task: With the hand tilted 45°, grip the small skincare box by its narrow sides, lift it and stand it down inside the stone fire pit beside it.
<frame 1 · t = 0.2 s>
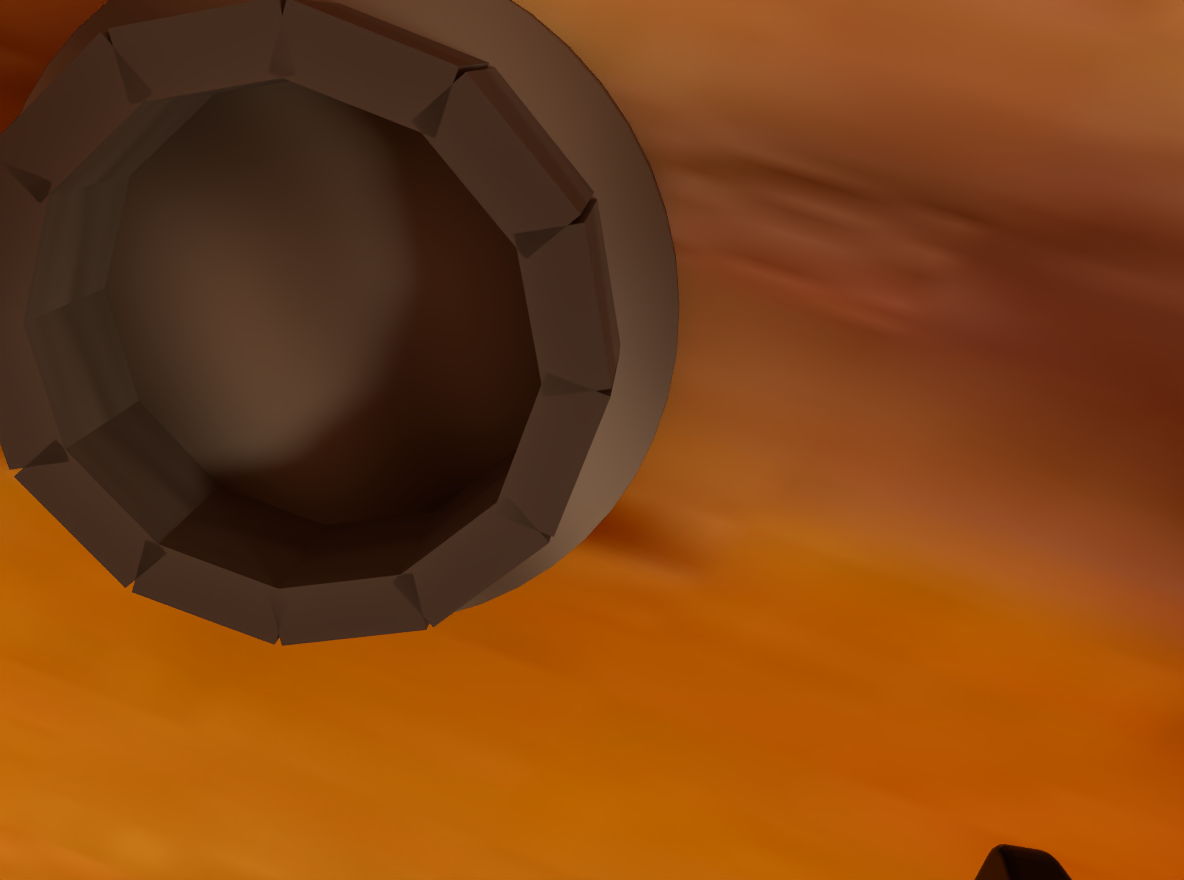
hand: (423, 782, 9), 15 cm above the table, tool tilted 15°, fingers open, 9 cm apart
stone fire pit: (341, 306, 23), on the table
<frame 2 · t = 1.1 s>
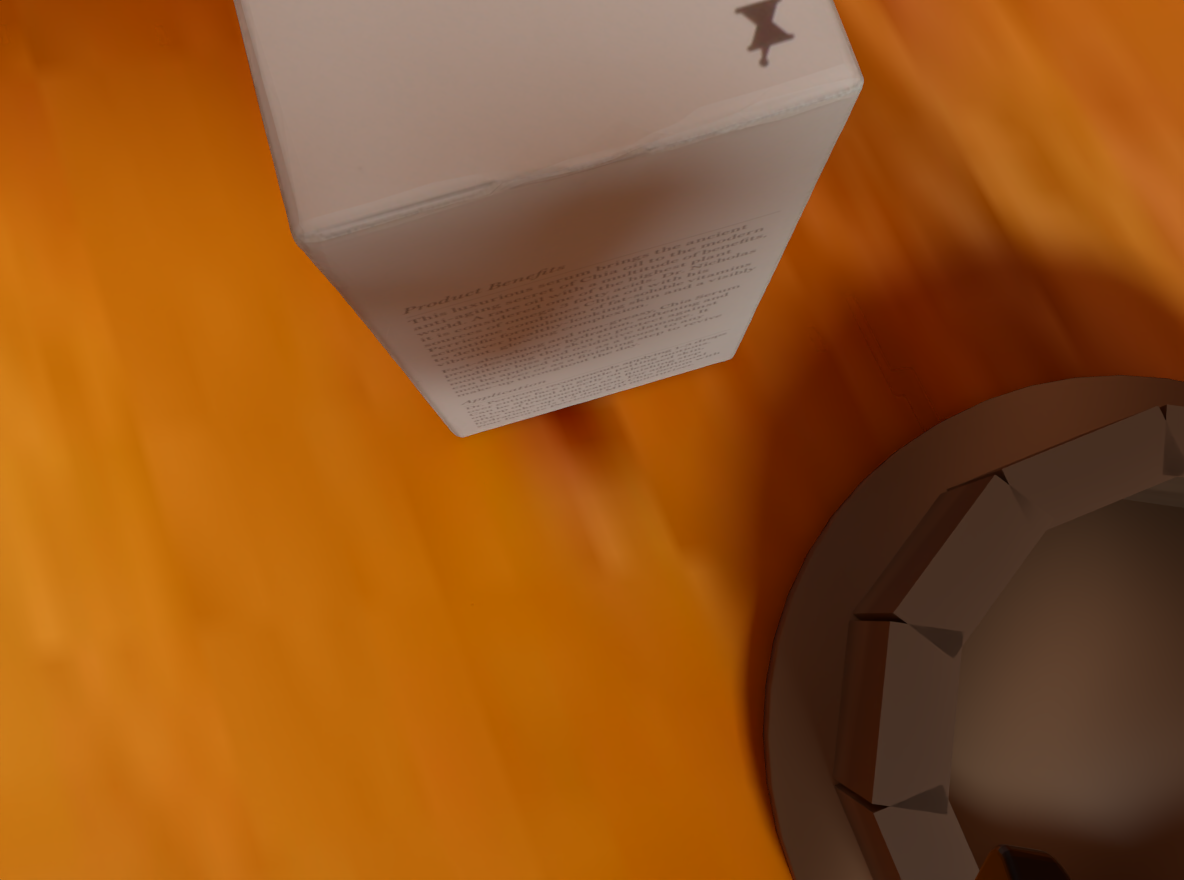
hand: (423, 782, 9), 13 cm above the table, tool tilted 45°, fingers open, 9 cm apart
skincare box: (564, 309, 23), on the table
stone fire pit: (1124, 738, 22), on the table
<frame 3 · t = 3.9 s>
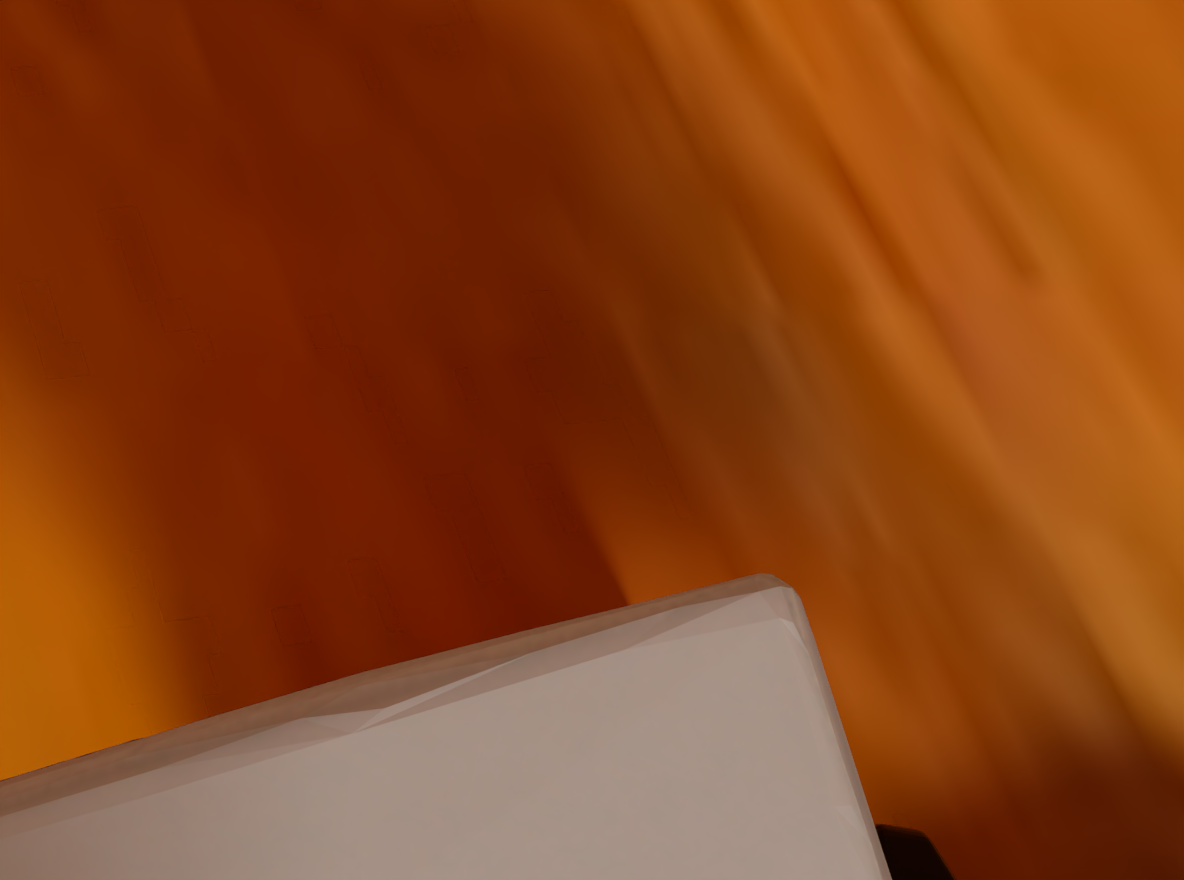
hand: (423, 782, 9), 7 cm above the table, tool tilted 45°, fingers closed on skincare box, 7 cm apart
skincare box: (468, 826, 15), on the table, touching gripper
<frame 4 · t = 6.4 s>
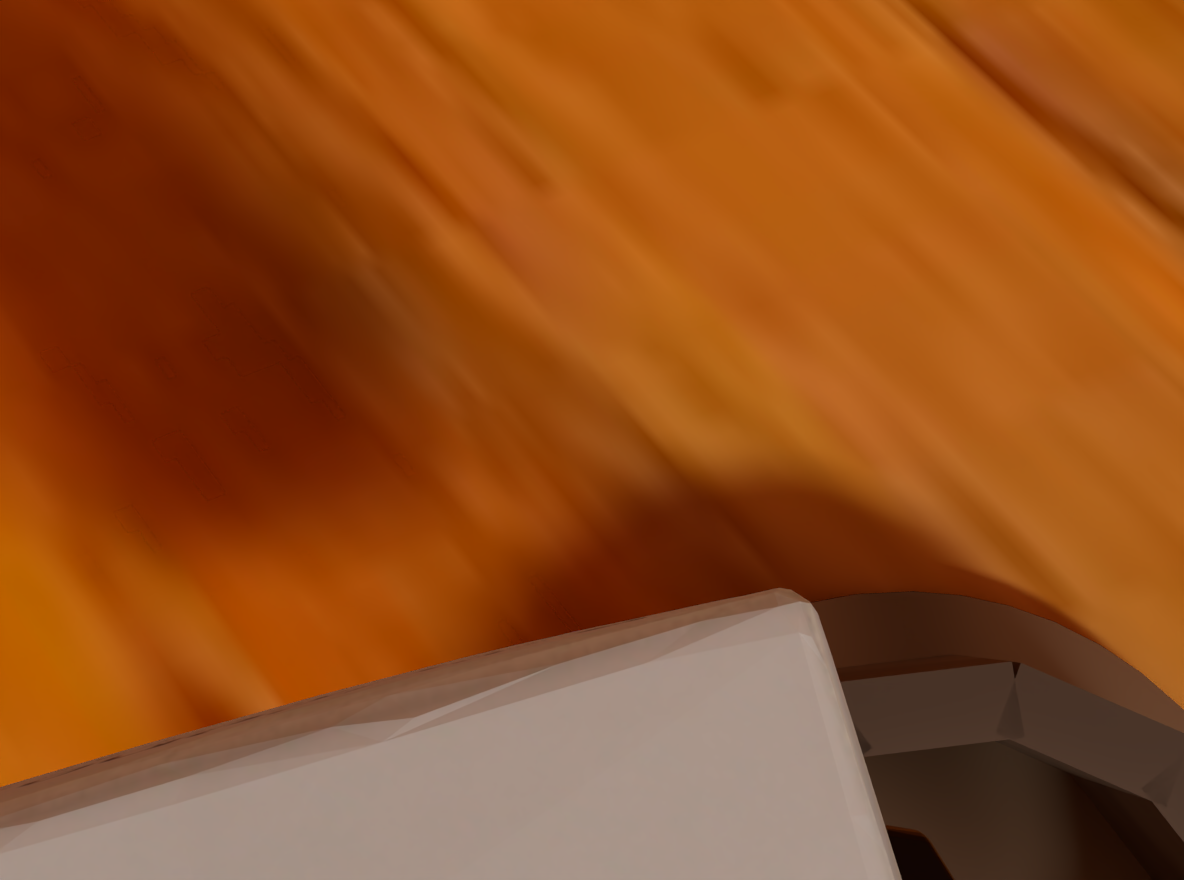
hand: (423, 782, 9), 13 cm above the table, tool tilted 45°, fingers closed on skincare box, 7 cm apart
skincare box: (456, 820, 16), point 6 cm above the table, touching gripper
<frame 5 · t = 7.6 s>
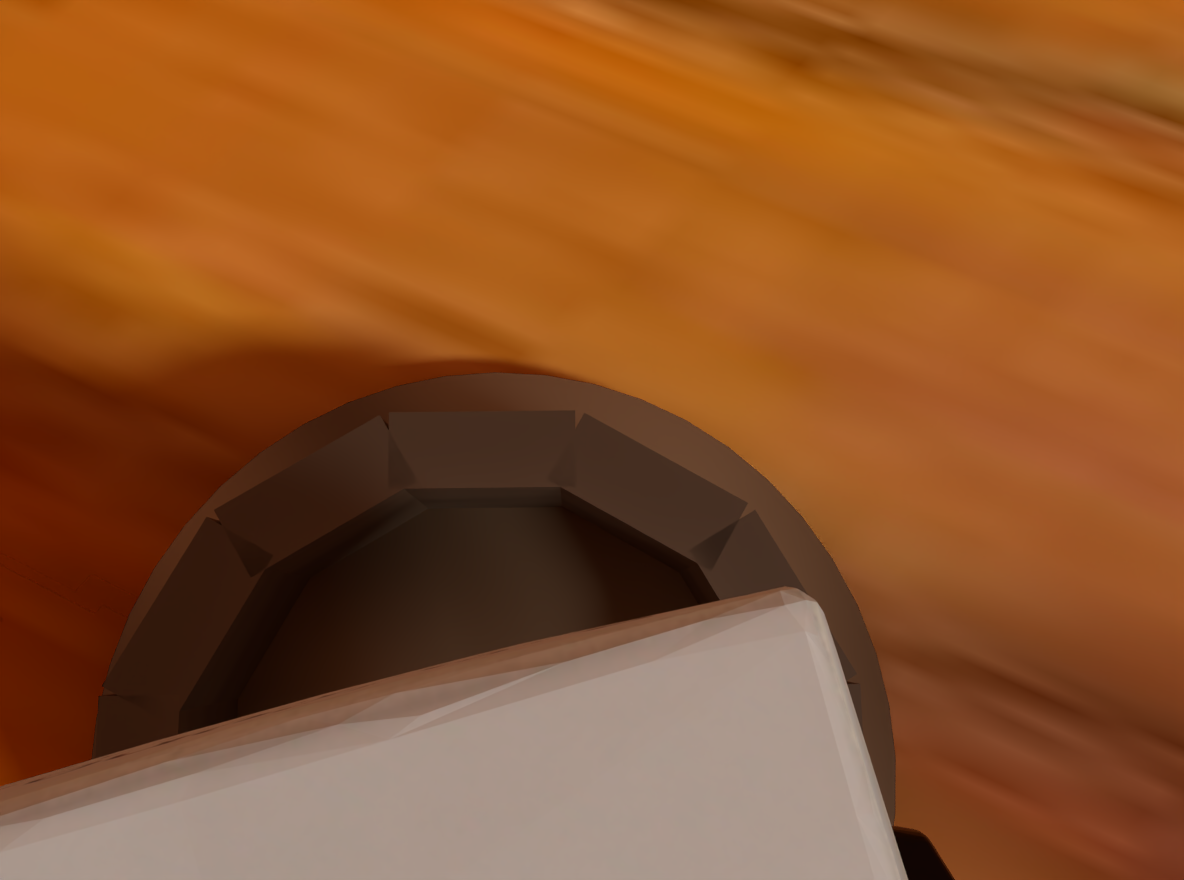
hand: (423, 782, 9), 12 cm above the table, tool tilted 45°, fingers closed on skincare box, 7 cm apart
skincare box: (459, 820, 16), point 5 cm above the table, touching gripper
stone fire pit: (498, 759, 20), on the table
when the fingers open (9 cm above the table, at t = 8.8 s): skincare box drops 1 cm, resting on stone fire pit.
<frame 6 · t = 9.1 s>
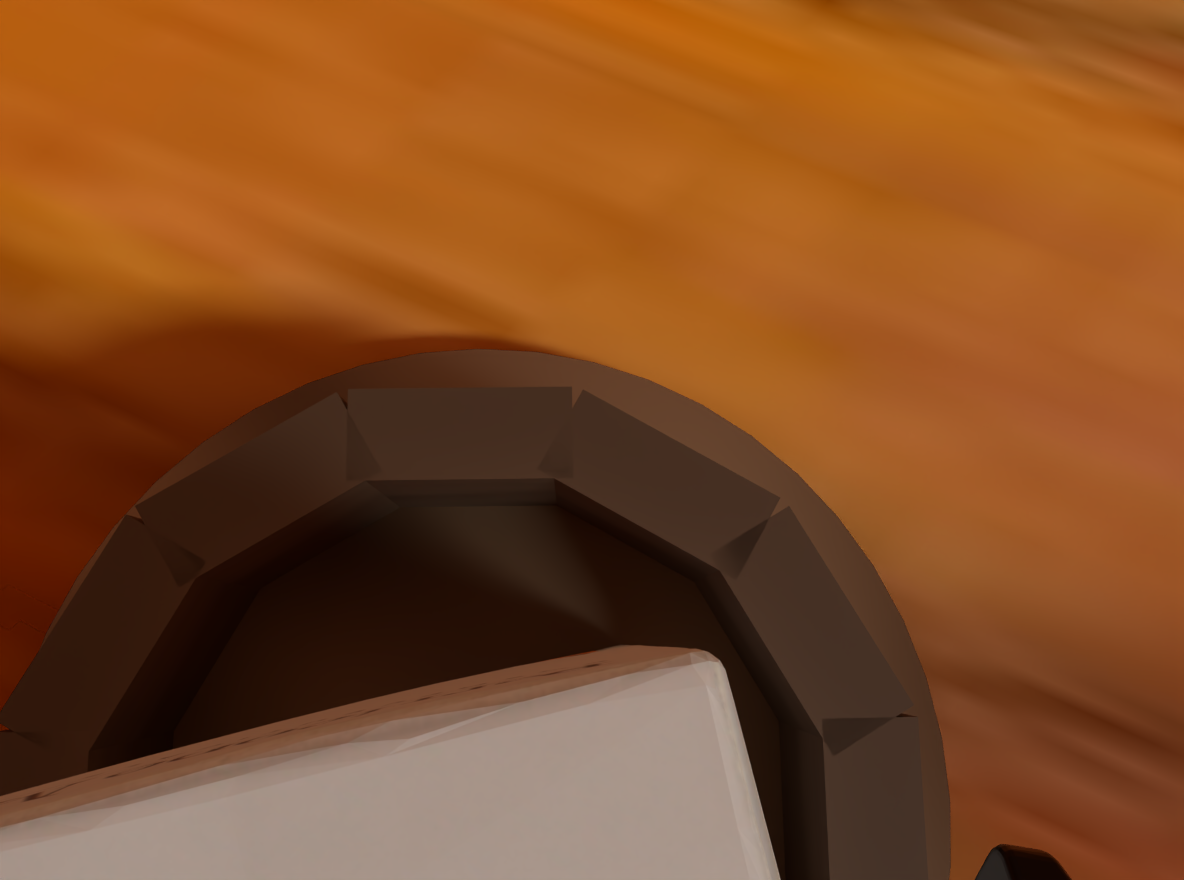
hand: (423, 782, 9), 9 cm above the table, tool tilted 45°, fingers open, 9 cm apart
skincare box: (462, 822, 17), point 1 cm above the table, touching stone fire pit
stone fire pit: (482, 802, 17), on the table
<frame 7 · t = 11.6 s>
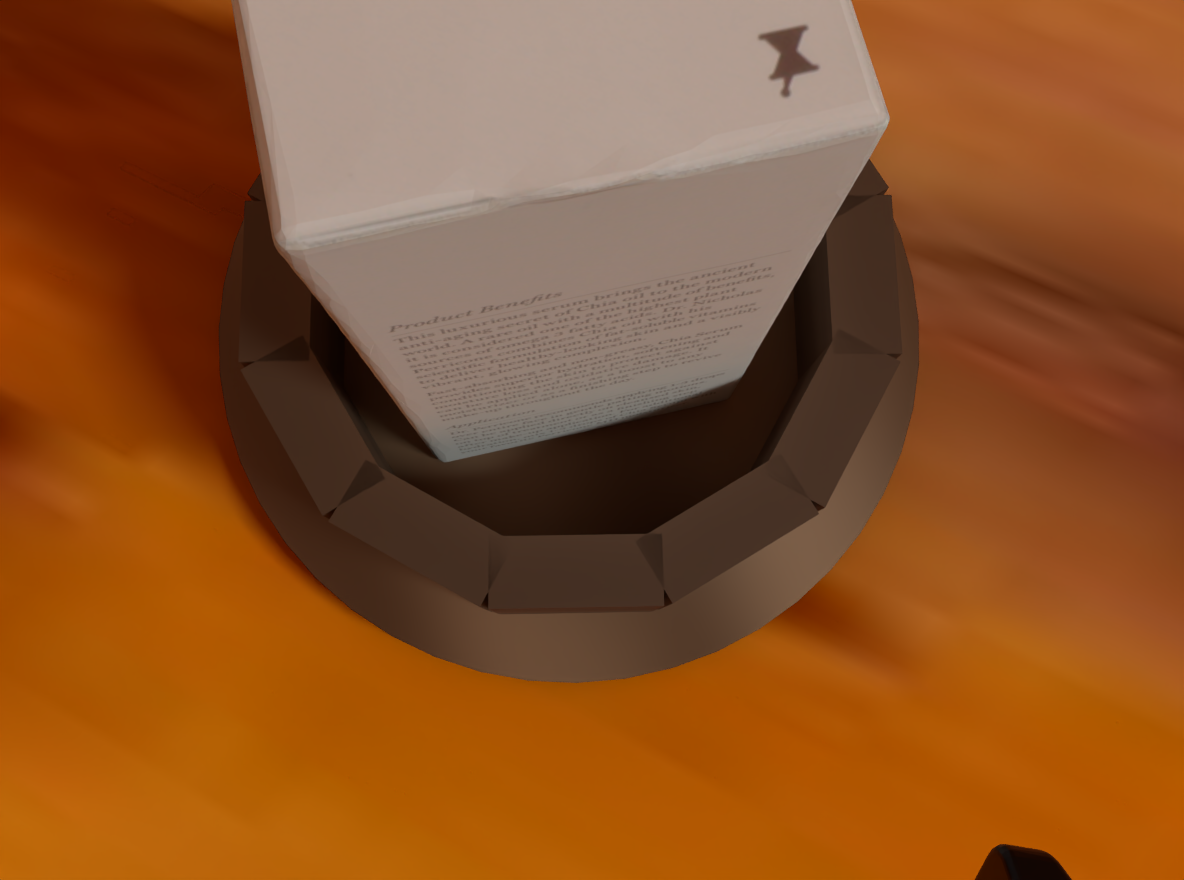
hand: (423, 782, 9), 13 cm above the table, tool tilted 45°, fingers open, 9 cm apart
skincare box: (559, 337, 23), point 1 cm above the table, touching stone fire pit
stone fire pit: (571, 336, 23), on the table
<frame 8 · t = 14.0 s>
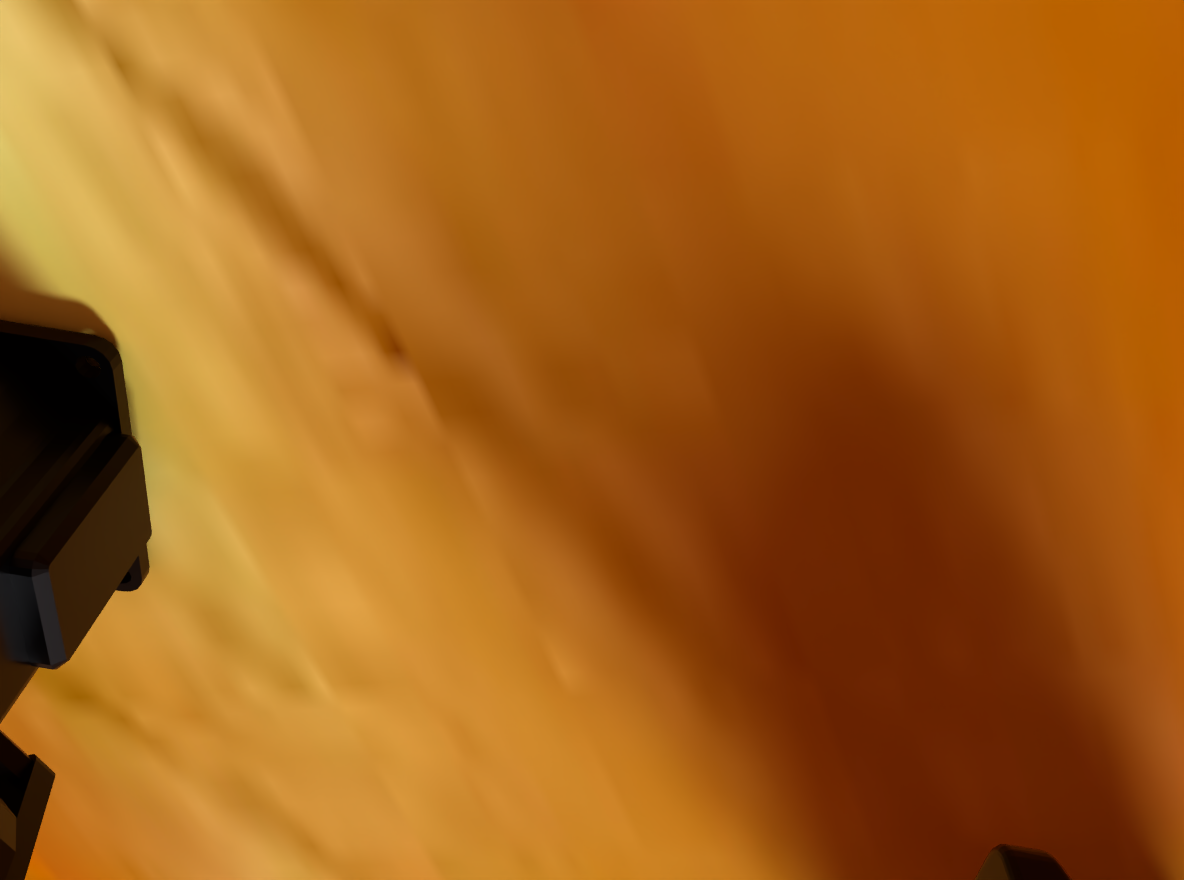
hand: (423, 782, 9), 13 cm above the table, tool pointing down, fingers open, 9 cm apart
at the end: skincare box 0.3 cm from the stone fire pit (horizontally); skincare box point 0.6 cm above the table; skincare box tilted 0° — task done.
